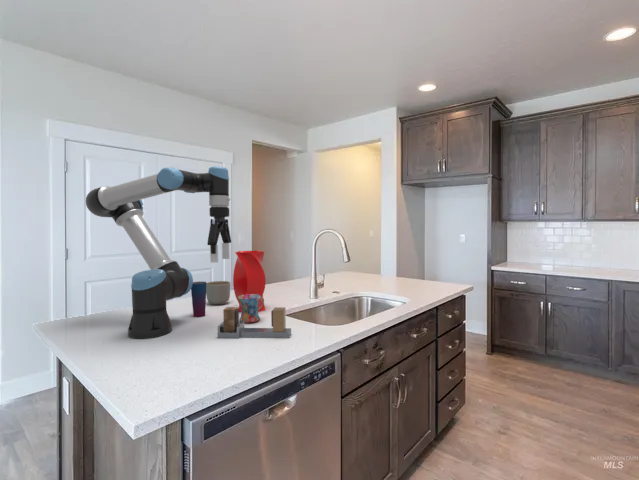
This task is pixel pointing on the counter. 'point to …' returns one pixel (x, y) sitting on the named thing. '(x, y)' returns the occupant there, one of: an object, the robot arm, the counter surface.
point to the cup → (198, 298)
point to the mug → (250, 307)
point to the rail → (276, 332)
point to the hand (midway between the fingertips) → (220, 260)
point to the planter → (218, 292)
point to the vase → (249, 276)
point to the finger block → (231, 318)
